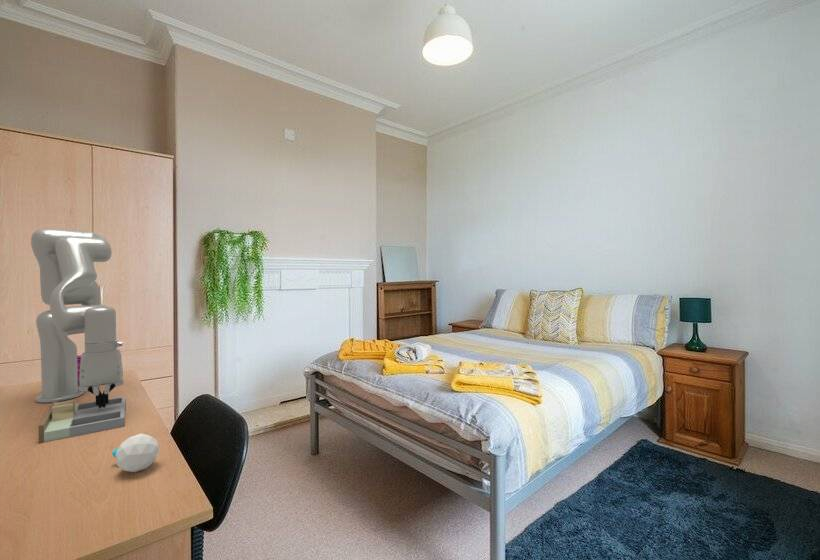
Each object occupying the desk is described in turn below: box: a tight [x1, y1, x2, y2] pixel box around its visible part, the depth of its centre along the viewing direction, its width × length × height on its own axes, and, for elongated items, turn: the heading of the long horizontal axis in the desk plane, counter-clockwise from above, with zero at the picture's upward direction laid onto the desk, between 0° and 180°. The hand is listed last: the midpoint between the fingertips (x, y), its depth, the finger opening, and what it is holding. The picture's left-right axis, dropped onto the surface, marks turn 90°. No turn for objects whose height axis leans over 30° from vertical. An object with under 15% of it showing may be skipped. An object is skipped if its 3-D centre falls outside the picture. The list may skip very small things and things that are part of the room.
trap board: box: [38, 396, 127, 444], centre depth 114 cm, size 23×18×4 cm
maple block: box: [52, 399, 76, 422], centre depth 110 cm, size 4×4×4 cm
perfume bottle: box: [111, 432, 160, 473], centre depth 87 cm, size 8×8×12 cm
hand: (102, 406), depth 116 cm, fingers closed
